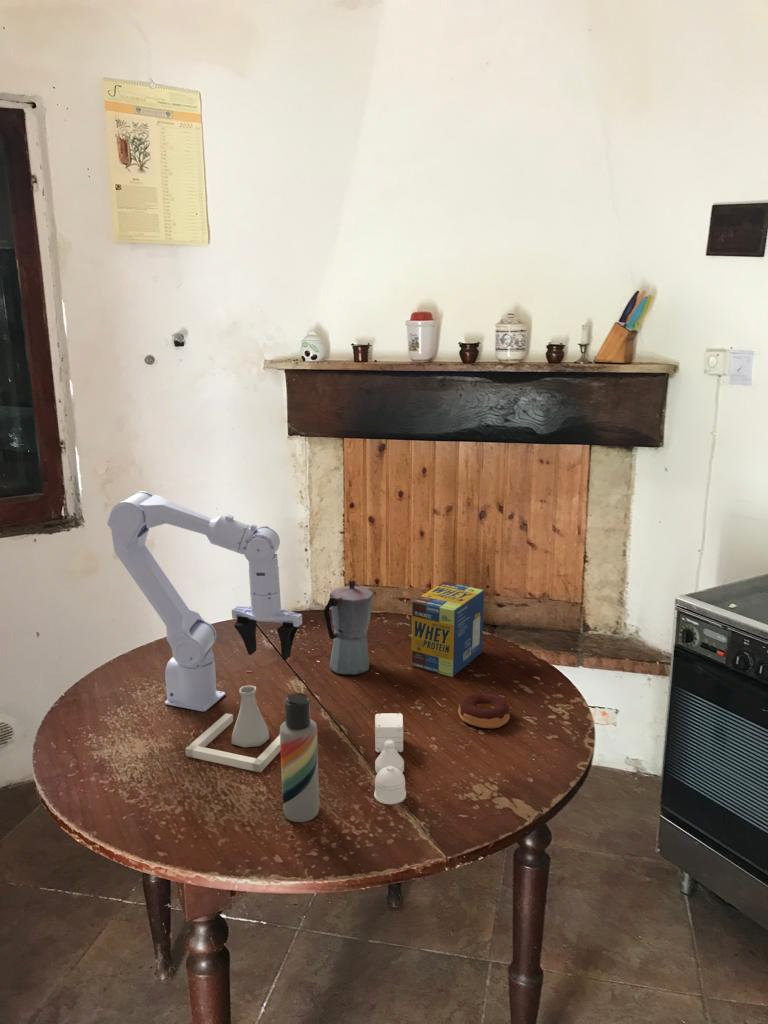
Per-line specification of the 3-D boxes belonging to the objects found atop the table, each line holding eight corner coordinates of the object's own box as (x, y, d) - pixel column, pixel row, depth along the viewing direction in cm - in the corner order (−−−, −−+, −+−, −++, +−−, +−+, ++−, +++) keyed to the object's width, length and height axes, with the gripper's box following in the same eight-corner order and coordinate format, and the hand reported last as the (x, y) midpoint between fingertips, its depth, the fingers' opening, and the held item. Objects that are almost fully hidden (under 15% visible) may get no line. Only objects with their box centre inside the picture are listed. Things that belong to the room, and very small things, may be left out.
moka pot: (386, 660, 180) (386, 576, 175) (347, 687, 167) (345, 597, 162) (351, 651, 185) (350, 569, 180) (310, 676, 172) (308, 589, 167)
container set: (374, 739, 148) (374, 713, 146) (403, 739, 148) (403, 712, 146) (374, 805, 128) (373, 775, 127) (406, 805, 128) (406, 775, 127)
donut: (520, 718, 155) (520, 699, 154) (490, 737, 148) (490, 718, 147) (478, 701, 162) (478, 683, 161) (447, 719, 155) (447, 700, 154)
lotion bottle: (283, 802, 129) (279, 688, 124) (319, 800, 129) (315, 687, 124) (282, 824, 123) (277, 706, 118) (319, 822, 124) (316, 705, 119)
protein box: (410, 667, 177) (410, 601, 173) (443, 642, 190) (444, 580, 186) (453, 678, 172) (454, 610, 168) (483, 652, 184) (485, 588, 180)
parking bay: (186, 756, 142) (185, 748, 142) (226, 720, 155) (225, 713, 154) (260, 772, 137) (260, 764, 137) (296, 734, 149) (295, 726, 149)
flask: (263, 750, 144) (261, 699, 142) (225, 747, 145) (221, 697, 143) (274, 729, 151) (272, 681, 149) (237, 727, 152) (235, 679, 150)
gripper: (307, 587, 156) (311, 651, 160) (242, 580, 161) (247, 642, 165) (291, 599, 150) (294, 666, 153) (224, 591, 155) (229, 656, 158)
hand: (269, 655), depth 158 cm, fingers open, 7 cm apart
